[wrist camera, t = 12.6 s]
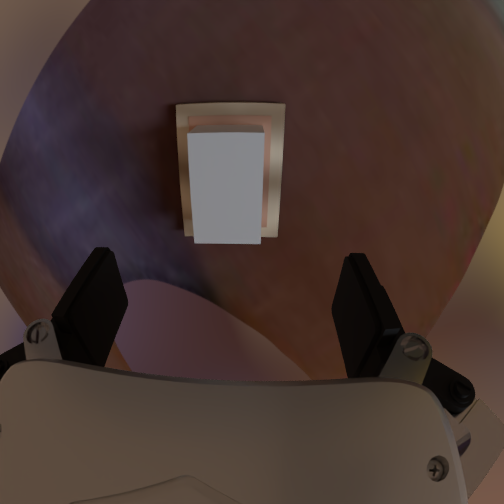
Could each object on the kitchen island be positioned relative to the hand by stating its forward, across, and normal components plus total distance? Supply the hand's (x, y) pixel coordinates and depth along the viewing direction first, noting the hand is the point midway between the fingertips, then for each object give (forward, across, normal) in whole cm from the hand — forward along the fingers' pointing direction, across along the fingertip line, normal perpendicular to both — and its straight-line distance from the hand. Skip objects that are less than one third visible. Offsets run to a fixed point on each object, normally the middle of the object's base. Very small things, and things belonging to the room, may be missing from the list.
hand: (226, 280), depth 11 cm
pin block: (+19, +1, +2) cm, 20 cm away
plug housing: (+18, +1, +2) cm, 18 cm away
